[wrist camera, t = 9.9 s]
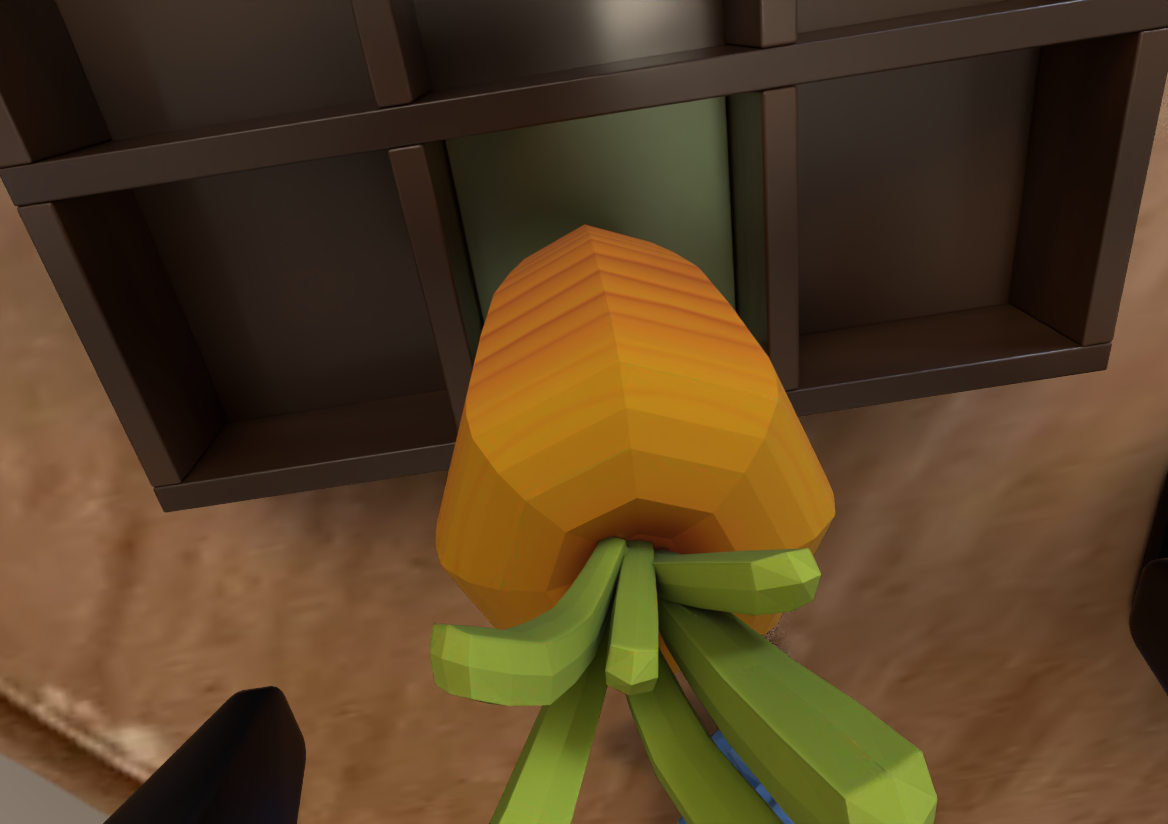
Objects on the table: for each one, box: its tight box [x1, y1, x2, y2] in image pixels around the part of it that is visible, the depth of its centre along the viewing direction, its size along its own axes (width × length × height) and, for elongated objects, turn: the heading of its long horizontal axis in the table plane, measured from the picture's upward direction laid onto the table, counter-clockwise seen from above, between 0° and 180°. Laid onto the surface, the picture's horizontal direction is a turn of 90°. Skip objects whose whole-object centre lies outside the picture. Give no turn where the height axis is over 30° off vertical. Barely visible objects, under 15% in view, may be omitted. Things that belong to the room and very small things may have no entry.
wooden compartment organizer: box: [0, 0, 1168, 512], centre depth 15 cm, size 15×22×4 cm
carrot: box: [429, 224, 938, 824], centre depth 12 cm, size 5×5×15 cm
